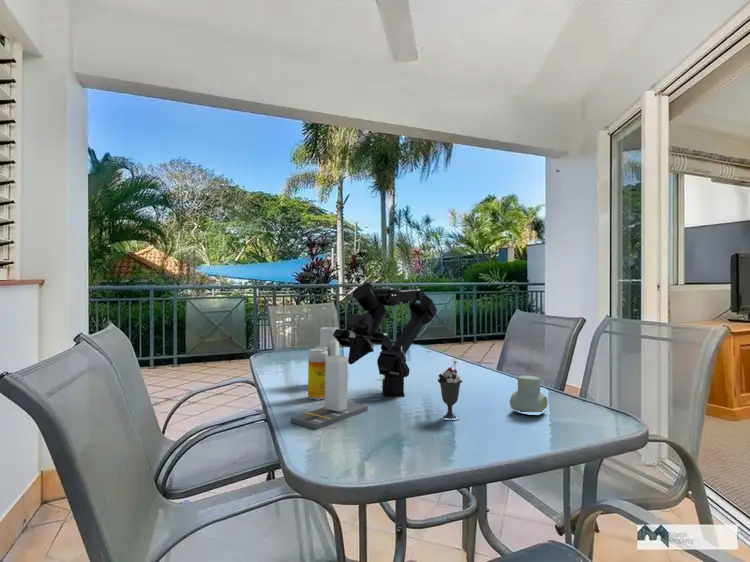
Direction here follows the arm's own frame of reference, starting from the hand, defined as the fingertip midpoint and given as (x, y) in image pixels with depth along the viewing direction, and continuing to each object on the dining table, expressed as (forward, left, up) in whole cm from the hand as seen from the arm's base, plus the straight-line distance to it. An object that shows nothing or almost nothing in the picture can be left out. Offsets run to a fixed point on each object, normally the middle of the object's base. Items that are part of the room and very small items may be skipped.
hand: (349, 363), depth 126 cm
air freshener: (-50, +2, -13) cm, 52 cm away
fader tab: (+3, +5, -11) cm, 13 cm away
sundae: (-27, +8, -13) cm, 31 cm away
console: (+4, +7, -13) cm, 15 cm away
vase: (+10, -30, -13) cm, 34 cm away
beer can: (+11, -12, -13) cm, 21 cm away
